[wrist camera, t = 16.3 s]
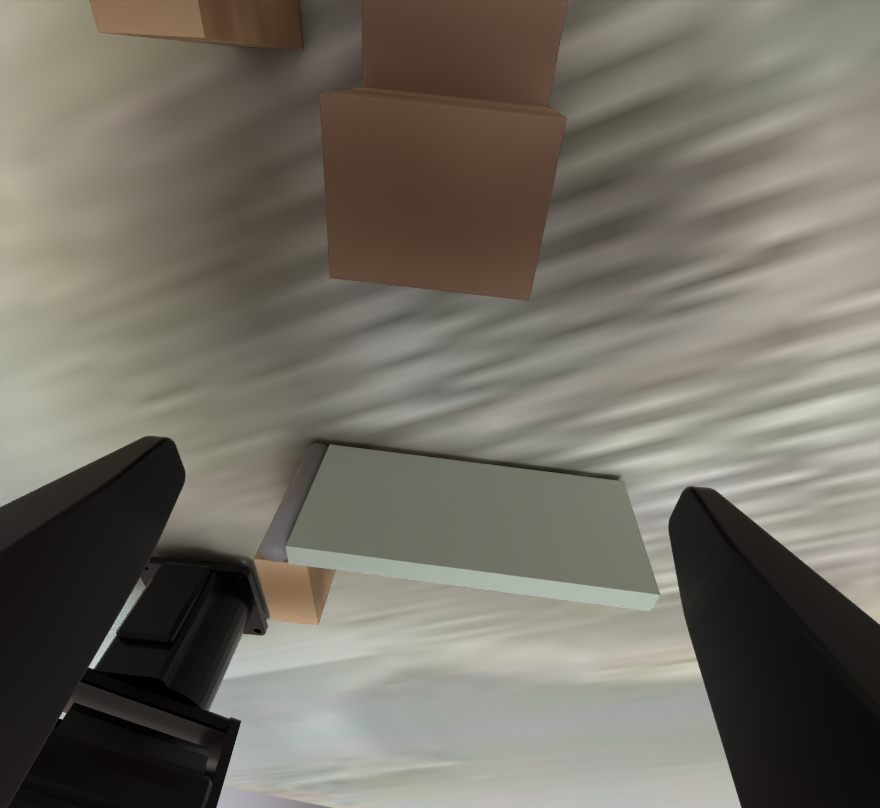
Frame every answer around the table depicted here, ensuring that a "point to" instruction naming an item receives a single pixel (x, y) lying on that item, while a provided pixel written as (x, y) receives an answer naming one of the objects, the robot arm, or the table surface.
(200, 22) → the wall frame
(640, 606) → the door
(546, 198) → the brown boot
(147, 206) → the table surface
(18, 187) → the table surface
